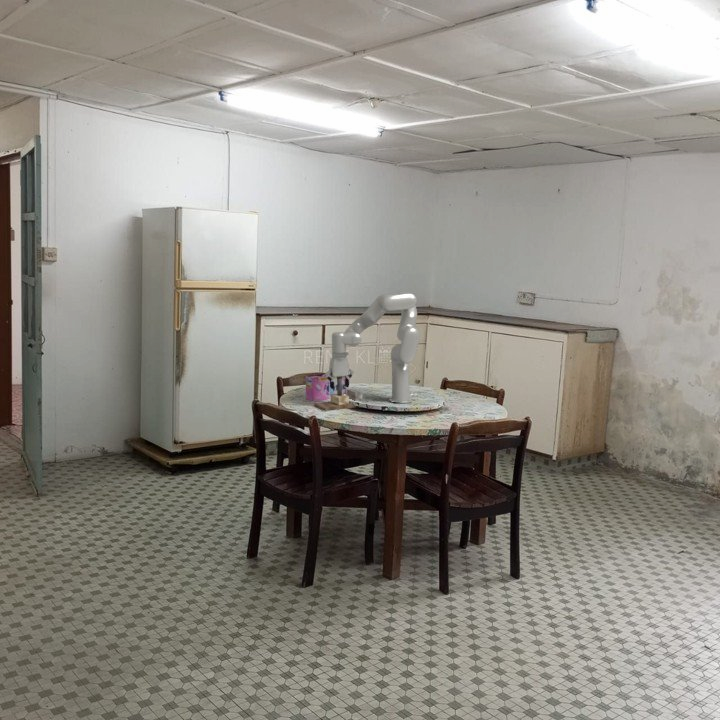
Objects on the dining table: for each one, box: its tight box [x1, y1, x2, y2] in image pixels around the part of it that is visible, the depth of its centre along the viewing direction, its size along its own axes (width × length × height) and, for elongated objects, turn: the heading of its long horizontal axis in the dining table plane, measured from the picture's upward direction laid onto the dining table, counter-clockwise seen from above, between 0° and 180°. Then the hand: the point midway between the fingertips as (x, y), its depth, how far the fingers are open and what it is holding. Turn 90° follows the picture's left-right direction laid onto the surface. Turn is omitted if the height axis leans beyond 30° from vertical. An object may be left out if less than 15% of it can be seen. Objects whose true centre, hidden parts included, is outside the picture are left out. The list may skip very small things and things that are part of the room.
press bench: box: [313, 388, 363, 412], centre depth 391 cm, size 24×14×8 cm, turn 119°
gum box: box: [305, 373, 347, 402], centre depth 413 cm, size 24×8×14 cm, turn 124°
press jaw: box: [330, 377, 349, 405], centre depth 390 cm, size 6×10×16 cm, turn 29°
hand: (339, 387), depth 390 cm, fingers open, 8 cm apart
